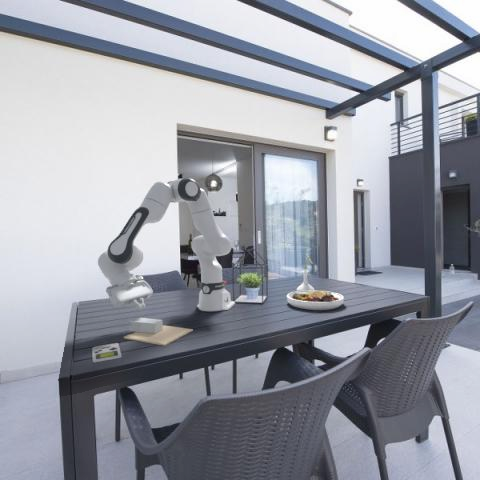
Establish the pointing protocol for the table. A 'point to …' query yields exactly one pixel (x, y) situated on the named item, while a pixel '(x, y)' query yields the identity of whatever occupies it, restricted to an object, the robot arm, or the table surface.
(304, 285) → the flower in vase
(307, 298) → the bowl
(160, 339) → the mat
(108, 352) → the handheld gaming device
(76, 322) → the table surface
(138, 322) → the skincare box
